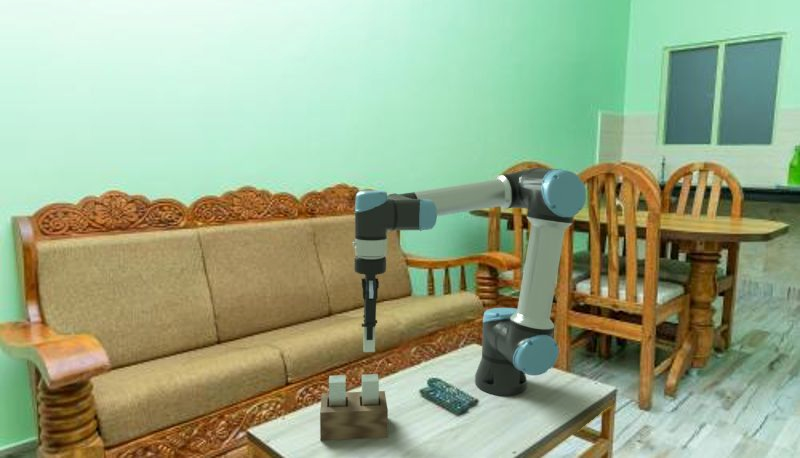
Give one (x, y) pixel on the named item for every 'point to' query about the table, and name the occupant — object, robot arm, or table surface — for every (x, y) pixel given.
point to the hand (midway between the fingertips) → (369, 350)
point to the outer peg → (337, 391)
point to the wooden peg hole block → (353, 418)
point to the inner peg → (370, 389)
